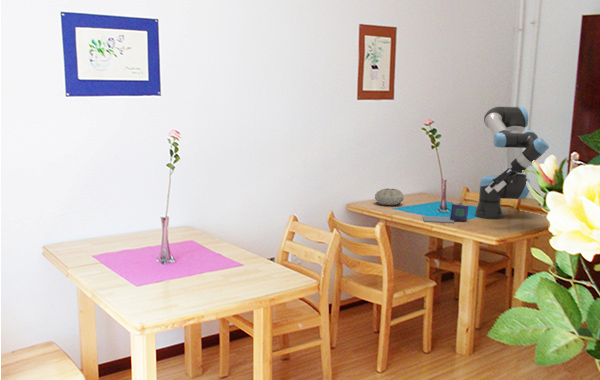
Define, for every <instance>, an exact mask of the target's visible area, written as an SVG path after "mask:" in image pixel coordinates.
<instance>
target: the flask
mask: <svg viewBox="0 0 600 380" xmlns="http://www.w3.org/2000/svg"><path fill="white" fill-rule="evenodd" d="M469 208H470V205H468V204H463V201H459V202H454V203H452V204H451V210H450V214H449V215H450V216H449V217H450V220H454V221H456V222H459V221H460V222H467V221H468V214H469Z"/></svg>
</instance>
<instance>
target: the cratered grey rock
mask: <svg viewBox="0 0 600 380" xmlns="http://www.w3.org/2000/svg"><path fill="white" fill-rule="evenodd" d="M404 198H405V197H404V193H403V192H402V191H401V190H400V189H397V188H382V189H380V190H377V191H376V193H375V194H374V199H375V201H376V202H377V203H378V204H380V205H382V206H396V205H398V204H401V203H402V202H403V201H404Z"/></svg>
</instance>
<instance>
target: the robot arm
mask: <svg viewBox="0 0 600 380" xmlns="http://www.w3.org/2000/svg"><path fill="white" fill-rule="evenodd" d="M528 114H529V113H528V111H527V109H526V108H525V107H521V106H494V107H492V108H490V109H489V110H487V112H486V113H485V114H484V118H483V123H484V125H485V126H486V128H488V129H490V131H491V132H492V134H493V146H494V147H495V148H506V170H505V171H503V172H502V173H500V174H491V175H483V176H481V178H480V183H479V196H478V203H477V205H476V209H475V210H474V216H475V217H478V218H482V219H490V220H491V219H492V220H493V219H501V218H503V215H504V212H503V209H502V205H501V199H502V200H503V199H506V200H507V199H508V200H525V199H527V197H528V195H529V193H530V190H528V188H527V186H526V181H528V182H529V183H530V184H531V180H530V179H529V178H527V175H526V174H525V173H524V171H526V170H527V168H529V167H532V166H533V163H532V161H533V160H535V161H536V160H538V159H539V158H541V156H542V155H543V154H545V153H546V151H547V150H548V149H549V148H550V146H549V144H548V143H547V142H546V141H545V140H544V139H543V138H541V137H539V136H538V135H537V133H536V132H534V131H533V130H530V129H529V130H526V128H527V127H528V125H529V115H528ZM525 130H526V131H525ZM523 149H524V150H523ZM522 170H524V171H523V172H522Z"/></svg>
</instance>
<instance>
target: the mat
mask: <svg viewBox="0 0 600 380" xmlns="http://www.w3.org/2000/svg"><path fill="white" fill-rule="evenodd" d="M422 219H423V222H424V223H437V224H438V223H439V224H443V223H444V224H455V220H450V216H437V215H436V216H434V215H422Z"/></svg>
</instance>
